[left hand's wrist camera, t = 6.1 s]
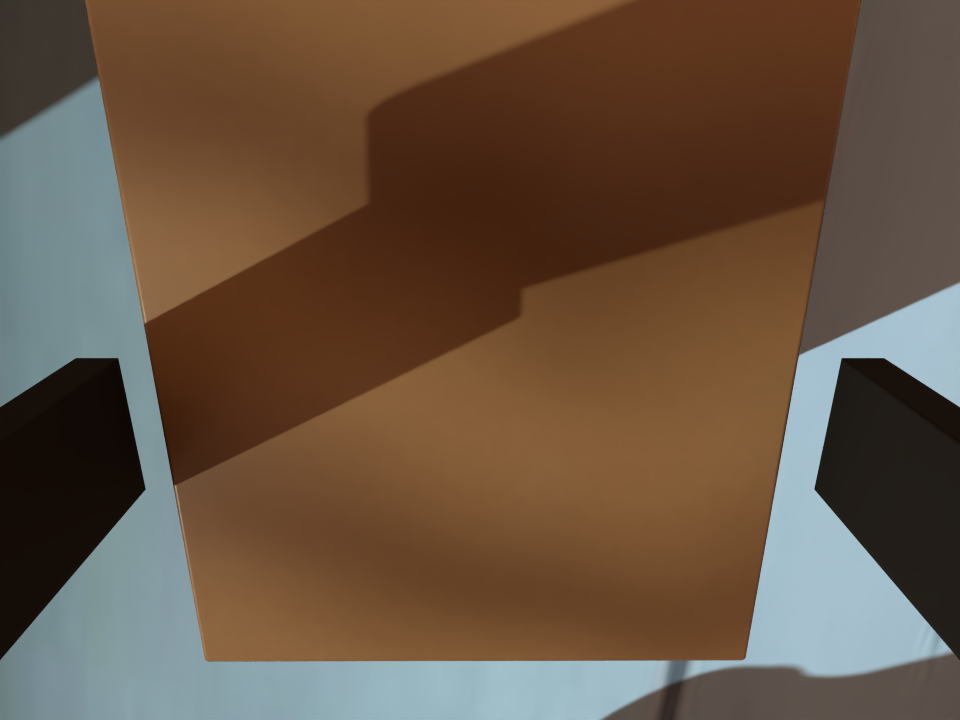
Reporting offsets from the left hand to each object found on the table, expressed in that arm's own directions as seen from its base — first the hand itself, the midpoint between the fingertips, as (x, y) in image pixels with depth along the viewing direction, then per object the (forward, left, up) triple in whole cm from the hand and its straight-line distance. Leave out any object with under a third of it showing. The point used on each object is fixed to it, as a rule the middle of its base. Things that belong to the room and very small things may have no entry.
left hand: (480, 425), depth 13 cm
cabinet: (+2, -4, -10) cm, 11 cm away
